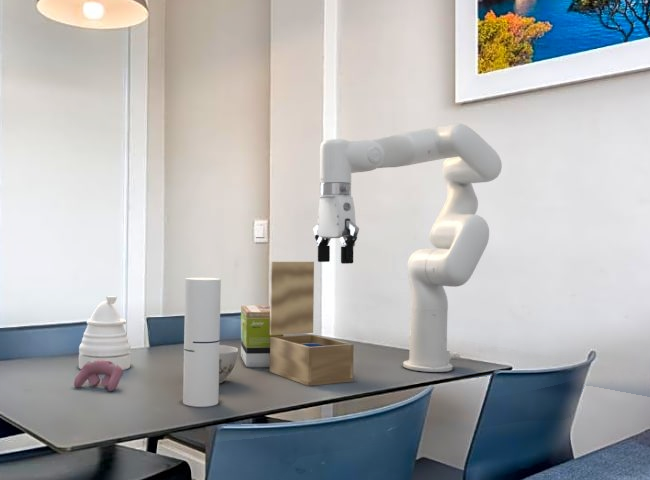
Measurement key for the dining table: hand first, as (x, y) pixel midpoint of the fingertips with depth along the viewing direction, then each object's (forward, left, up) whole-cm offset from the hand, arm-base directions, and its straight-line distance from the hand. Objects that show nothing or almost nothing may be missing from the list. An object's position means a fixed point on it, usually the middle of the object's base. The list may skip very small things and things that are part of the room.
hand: (335, 262), depth 163 cm
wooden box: (+4, -3, -28) cm, 28 cm away
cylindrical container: (+39, +10, -28) cm, 49 cm away
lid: (+4, -12, -9) cm, 16 cm away
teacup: (+29, -8, -28) cm, 41 cm away
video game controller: (+54, -11, -28) cm, 62 cm away
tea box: (+6, -24, -28) cm, 38 cm away
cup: (+4, -2, -27) cm, 28 cm away
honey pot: (+46, -34, -28) cm, 64 cm away
